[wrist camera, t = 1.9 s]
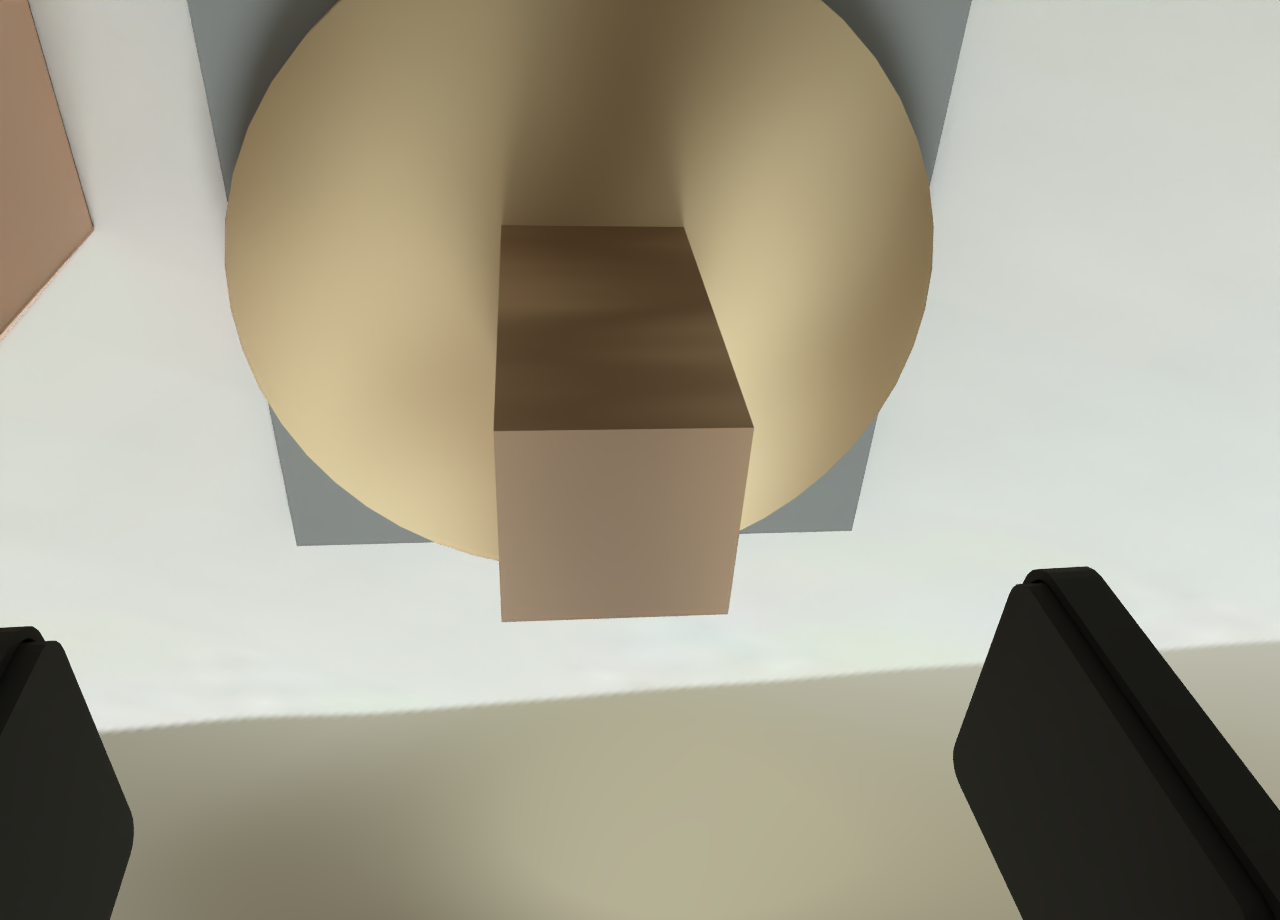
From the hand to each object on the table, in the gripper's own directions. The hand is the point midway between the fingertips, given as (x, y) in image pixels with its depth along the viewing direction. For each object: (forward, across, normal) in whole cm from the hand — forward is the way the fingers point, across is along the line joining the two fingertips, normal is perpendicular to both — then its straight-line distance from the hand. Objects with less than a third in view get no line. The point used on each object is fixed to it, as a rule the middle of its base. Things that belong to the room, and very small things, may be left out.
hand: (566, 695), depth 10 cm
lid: (+10, -1, 0) cm, 10 cm away
